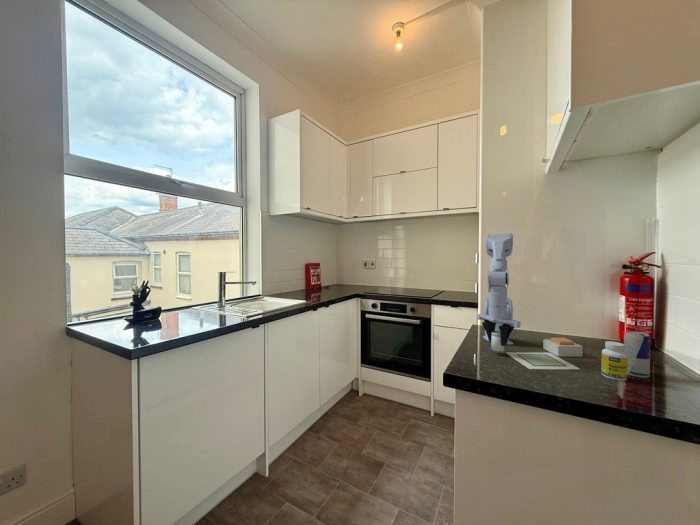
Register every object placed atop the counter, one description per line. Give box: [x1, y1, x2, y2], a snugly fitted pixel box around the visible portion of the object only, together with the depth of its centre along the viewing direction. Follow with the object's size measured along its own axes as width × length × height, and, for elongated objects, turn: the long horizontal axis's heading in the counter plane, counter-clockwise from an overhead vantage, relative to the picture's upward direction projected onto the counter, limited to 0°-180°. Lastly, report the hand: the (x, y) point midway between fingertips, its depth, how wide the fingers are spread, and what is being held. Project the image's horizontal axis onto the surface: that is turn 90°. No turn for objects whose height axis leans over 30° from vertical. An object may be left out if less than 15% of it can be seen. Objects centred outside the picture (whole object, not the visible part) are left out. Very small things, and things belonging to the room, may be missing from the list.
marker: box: [490, 331, 505, 352], centre depth 99 cm, size 4×4×6 cm
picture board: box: [505, 352, 581, 371], centre depth 93 cm, size 14×15×1 cm
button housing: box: [542, 338, 584, 358], centre depth 100 cm, size 8×8×4 cm
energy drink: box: [623, 330, 651, 379], centre depth 81 cm, size 5×5×12 cm
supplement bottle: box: [600, 340, 628, 382], centre depth 80 cm, size 5×5×10 cm
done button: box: [550, 337, 575, 345], centre depth 100 cm, size 5×5×2 cm
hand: (497, 343), depth 99 cm, fingers closed on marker, 4 cm apart
